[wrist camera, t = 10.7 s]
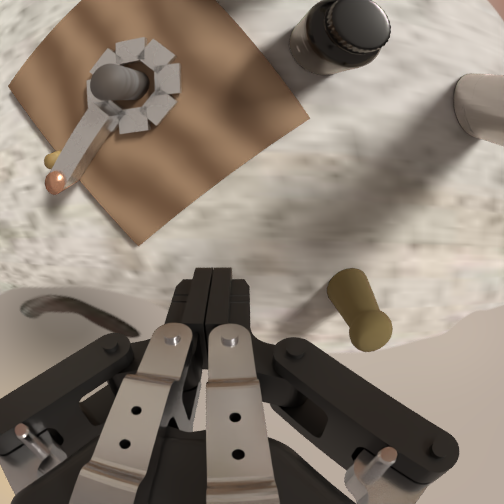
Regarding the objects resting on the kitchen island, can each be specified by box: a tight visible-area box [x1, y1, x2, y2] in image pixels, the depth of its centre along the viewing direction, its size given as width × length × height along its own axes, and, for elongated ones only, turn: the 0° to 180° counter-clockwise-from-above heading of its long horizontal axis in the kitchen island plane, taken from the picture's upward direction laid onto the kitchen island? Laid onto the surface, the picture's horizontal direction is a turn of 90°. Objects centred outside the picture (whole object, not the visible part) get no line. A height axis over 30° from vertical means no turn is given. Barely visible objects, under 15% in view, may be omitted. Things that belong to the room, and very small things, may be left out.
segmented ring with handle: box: [45, 37, 182, 195], centre depth 25 cm, size 18×10×4 cm, turn 136°
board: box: [8, 0, 310, 246], centre depth 23 cm, size 24×28×9 cm
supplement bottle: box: [289, 0, 391, 75], centre depth 21 cm, size 7×7×12 cm
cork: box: [327, 268, 393, 352], centre depth 36 cm, size 6×6×11 cm
